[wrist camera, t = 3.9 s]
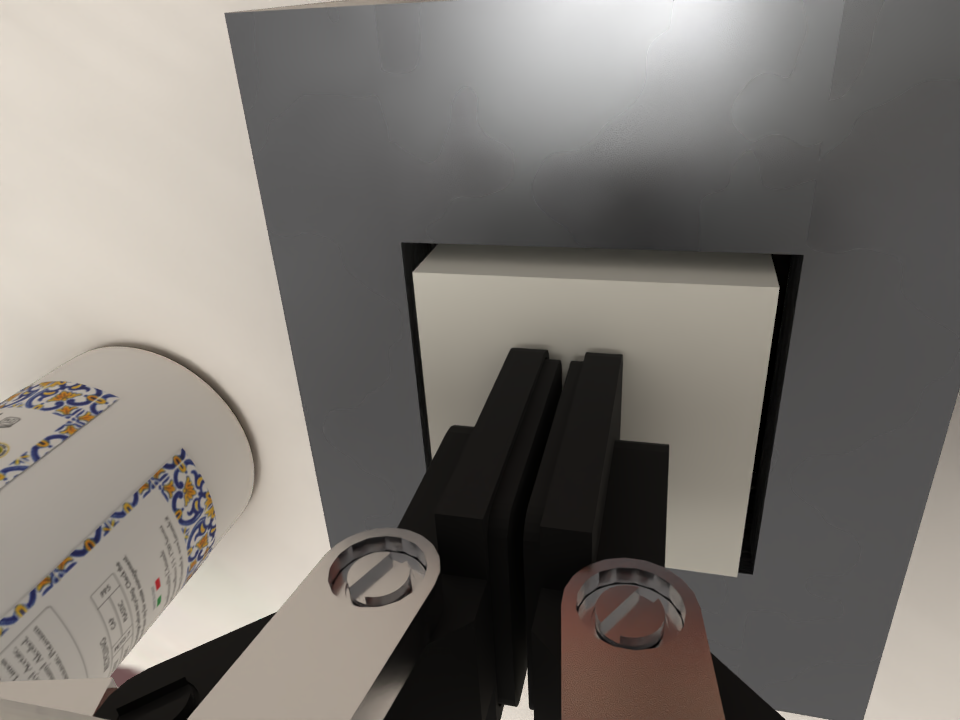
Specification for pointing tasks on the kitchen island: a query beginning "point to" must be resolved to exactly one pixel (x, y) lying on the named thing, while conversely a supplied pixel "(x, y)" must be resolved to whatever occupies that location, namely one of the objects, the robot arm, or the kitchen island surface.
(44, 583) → the bath foam
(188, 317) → the kitchen island surface
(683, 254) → the switch
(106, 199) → the kitchen island surface
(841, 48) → the grey rectangular box
